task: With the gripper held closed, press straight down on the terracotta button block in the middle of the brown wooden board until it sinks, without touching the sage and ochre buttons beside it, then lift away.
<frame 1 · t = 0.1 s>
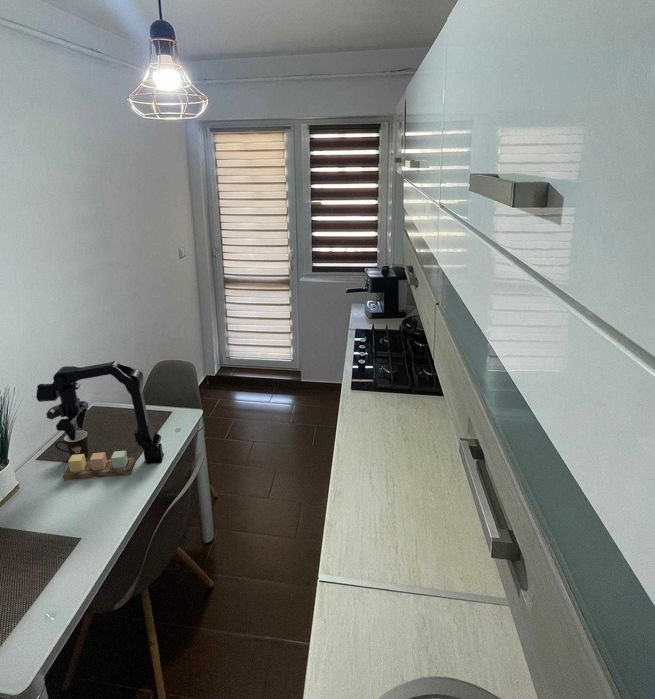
hand: (77, 434, 195), 15 cm above the table, fingers open, 9 cm apart
button sage: (119, 459, 196), point 5 cm above the table, slide at 0.0 cm
coffee mug: (77, 456, 206), on the table
button terracotta: (98, 461, 195), point 5 cm above the table, slide at 0.0 cm
button ochre: (77, 463, 194), point 5 cm above the table, slide at 0.0 cm
brown wooden board: (100, 471, 196), on the table
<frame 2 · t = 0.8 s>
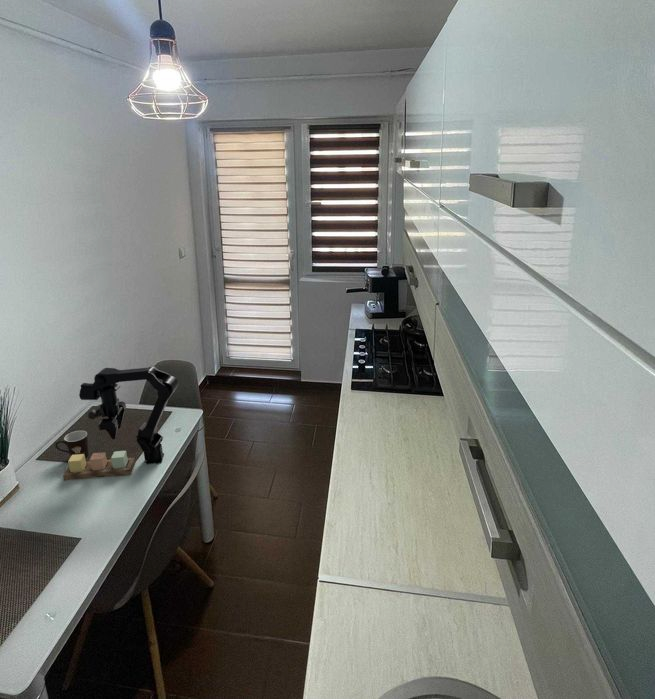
hand: (116, 433, 200), 12 cm above the table, fingers open, 8 cm apart
nothing on the table moved.
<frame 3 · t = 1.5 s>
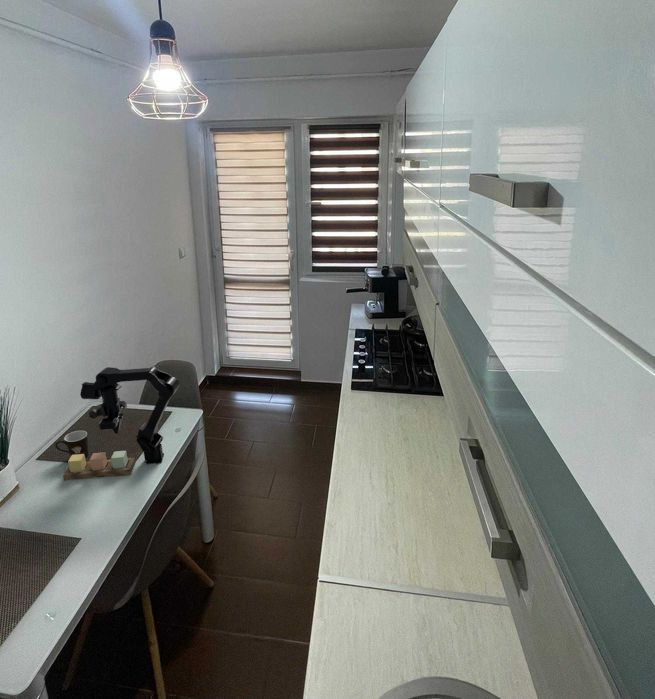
hand: (116, 433, 200), 12 cm above the table, fingers closed
nothing on the table moved.
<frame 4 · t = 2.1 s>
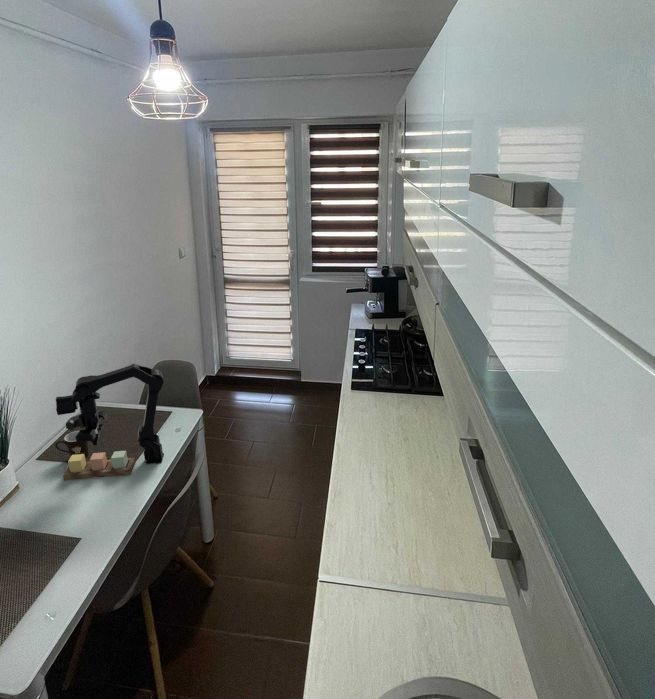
hand: (95, 444, 192), 12 cm above the table, fingers closed
nothing on the table moved.
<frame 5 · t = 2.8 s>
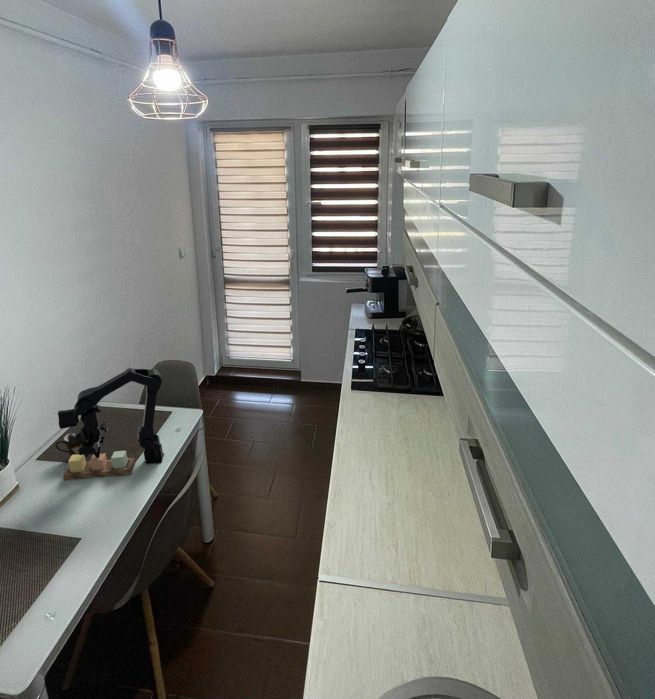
hand: (97, 457, 194), 7 cm above the table, fingers closed, pressing on button terracotta
button terracotta: (98, 462, 195), point 4 cm above the table, slide at -0.6 cm, touching gripper
everything else where it was.
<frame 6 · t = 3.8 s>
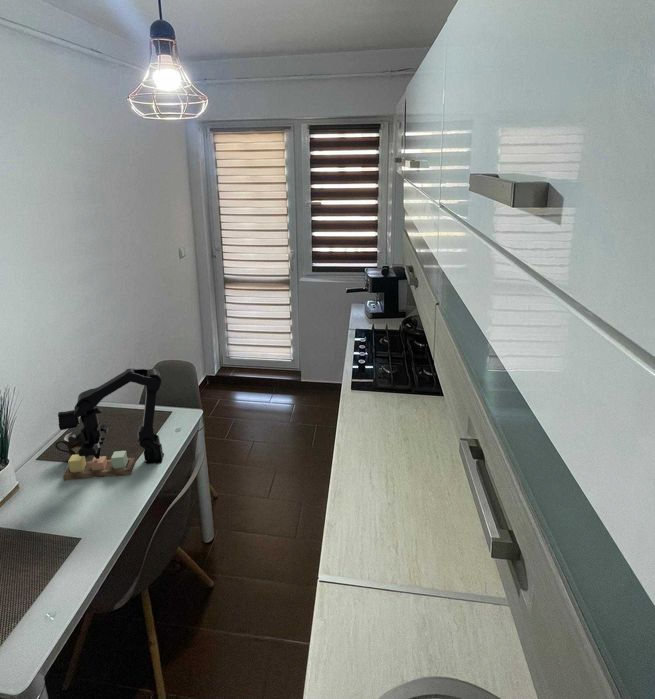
hand: (97, 458, 194), 6 cm above the table, fingers closed
button terracotta: (99, 465, 195), point 3 cm above the table, slide at -1.7 cm
everything else where it was.
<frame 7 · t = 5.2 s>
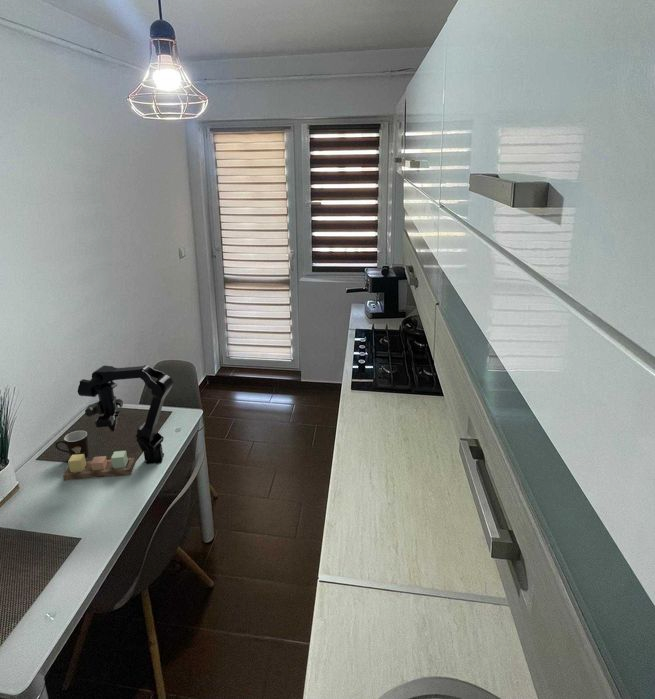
hand: (113, 430, 202), 12 cm above the table, fingers closed
nothing on the table moved.
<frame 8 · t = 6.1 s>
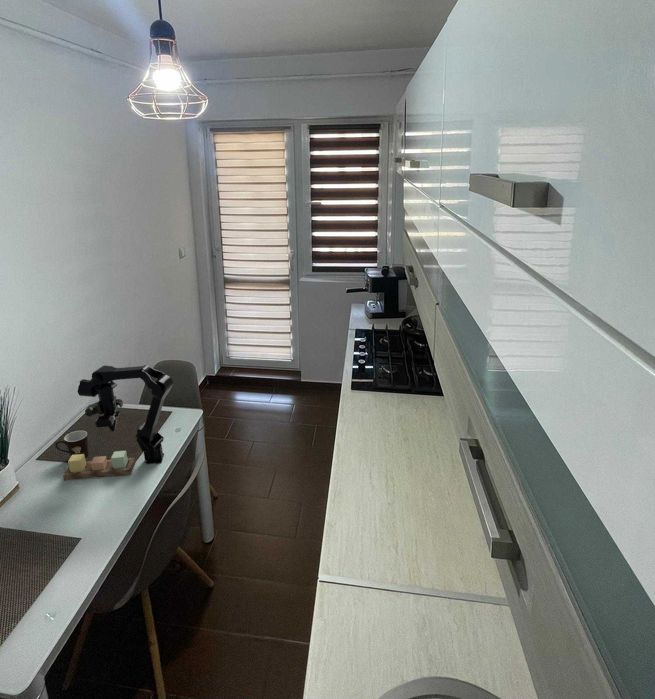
hand: (113, 430, 202), 12 cm above the table, fingers closed
nothing on the table moved.
at the end: button terracotta slide at -1.7 cm; button sage slide at 0.0 cm; button ochre slide at 0.0 cm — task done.
